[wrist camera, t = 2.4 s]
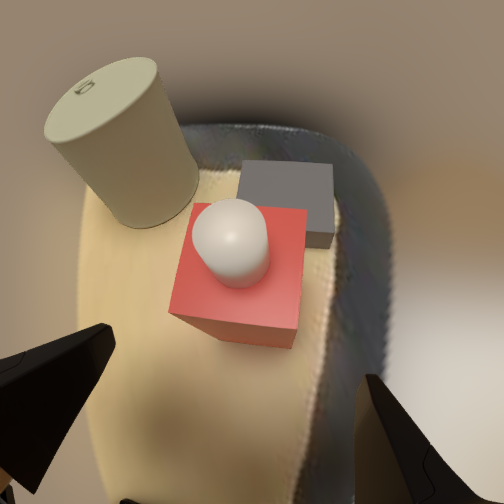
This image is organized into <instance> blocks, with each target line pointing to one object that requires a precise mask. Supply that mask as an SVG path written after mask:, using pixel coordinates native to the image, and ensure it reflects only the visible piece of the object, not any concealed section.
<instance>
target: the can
mask: <svg viewBox="0 0 504 504" xmlns="http://www.w3.org/2000/svg"><path fill="white" fill-rule="evenodd" d="M44 134H45V137H46V139H47V140H48V141H49V142H50V143H51V144H52V145H53V146H54V147H55V148H56V149H57V150H58V151H59V152H60V154H61V155H62V156H63V157H64V158H65V159H66V160H67V162H68V163H69V164H70V165H71V166H72V167H73V169H74V170H75V171H76V172H77V173H78V174H79V175H80V176H81V178H82V179H83V180H84V181H85V182H86V183H87V184H88V185H89V187H90V188H91V189H92V190H93V191H94V192H95V193H96V194H97V196H98V197H99V198H100V199H101V200H102V201H103V202H104V203H105V204H106V205H107V207H108V208H109V209H110V210H111V211H112V213H113V215H114V216H115V218H116V219H117V220H118V221H119V222H120V223H122V224H124V225H126V226H128V227H132V228H149V227H154V226H157V225H160V224H162V223H164V222H166V221H168V220H170V219H171V218H173V217H174V216H175V215H177V214H178V213H179V212H180V211H181V210H183V209H184V207H185V206H186V205H187V204H188V203H189V201H190V200H191V199H192V197H193V195H194V193H195V191H196V189H197V185H198V181H199V170H198V166H197V163H196V162H195V160H194V158H193V157H192V156H191V153H190V151H189V149H188V147H187V144H186V142H185V140H184V137H183V135H182V132H181V130H180V127H179V125H178V122H177V120H176V117H175V115H174V112H173V110H172V108H171V105H170V102H169V99H168V97H167V94H166V92H165V89H164V86H163V83H162V81H161V78H160V75H159V72H158V67H157V64H156V63H155V62H154V61H153V60H151V59H149V58H144V57H135V58H128V59H124V60H120V61H117V62H114V63H112V64H109V65H107V66H105V67H103V68H101V69H99V70H97V71H95V72H93V73H92V74H90V75H88V76H87V77H86V78H84V79H82V80H81V81H80V82H78V83H77V84H76V85H75V86H73V87H72V88H71V89H70V90H69V91H68V92H67V93H66V94H65V95H64V96H63V97H62V98H61V99H60V100H59V101H58V103H57V104H56V105H55V107H54V108H53V109H52V111H51V113H50V114H49V116H48V118H47V120H46V123H45V127H44Z"/></svg>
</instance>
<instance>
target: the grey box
mask: <svg viewBox="0 0 504 504" xmlns="http://www.w3.org/2000/svg"><path fill="white" fill-rule="evenodd" d="M236 199H241V200H244V201H247V202H249V203H251V204H253V205H254V206H264V207H279V208H292V209H305V210H307V220H306V235H305V248H320V249H330V246H331V243H332V239H333V236H334V233H335V224H334V188H333V168H332V164H322V163H307V162H288V161H258V160H243V163H242V169H241V175H240V180H239V186H238V192H237V197H236Z"/></svg>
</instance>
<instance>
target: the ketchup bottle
mask: <svg viewBox="0 0 504 504" xmlns="http://www.w3.org/2000/svg"><path fill="white" fill-rule="evenodd" d="M306 220H307V210H305V209H292V208H279V207H264V206H254V205H253V204H251V203H249V202H247V201H244V200H241V199H224V200H220V201H217V202H215V203H213V204H209V203H194V205H193V209H192V213H191V216H190V220H189V224H188V228H187V232H186V236H185V240H184V244H183V248H182V252H181V256H180V260H179V265H178V269H177V273H176V278H175V282H174V287H173V291H172V296H171V301H170V306H169V311H168V312H169V313H170V314H172V315H174V316H176V317H177V318H179V319H181V320H183V321H185V322H186V323H188V324H190V325H192V326H194V327H196V328H198V329H199V330H201V331H203V332H205V333H207V334H209V335H211V336H213V337H215V338H217V339H219V340H224V341H231V342H238V343H245V344H253V345H261V346H270V347H279V348H289V349H291V348H292V345H293V341H294V338H295V335H296V332H297V327H298V317H299V308H300V297H301V287H302V275H303V263H304V250H305V235H306Z"/></svg>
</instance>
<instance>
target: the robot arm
mask: <svg viewBox="0 0 504 504" xmlns="http://www.w3.org/2000/svg"><path fill="white" fill-rule="evenodd" d="M115 345H116V342H115V338H114V334H113V330H112V327H111V326H110V325H107V324H104V323H100V324H97V325H94V326H92V327H89V328H86V329H84V330H81V331H78V332H76V333H73V334H70V335H68V336H65V337H62V338H60V339H57V340H54V341H52V342H49V343H46V344H43V345H41V346H38V347H35V348H33V349H30V350H28V351H24V352H22V353H19V354H16V355H13V356H10V357H7V358H4V359H0V504H15V500H14V494H13V489H12V486H11V485H10V484H9V483H10V482H11V480H12V479H14V480H16V481H17V482H18V483H19V484H20V485H22V486H23V487H24V488H25V489H27V490H28V491H29V492H31V493H32V494H33V495H34V494H35V493H36V491H37V489H38V487H39V485H40V483H41V481H42V479H43V477H44V475H45V473H46V471H47V469H48V467H49V466H50V464H51V462H52V460H53V458H54V456H55V454H56V452H57V450H58V449H59V447H60V445H61V443H62V441H63V440H64V438H65V436H66V434H67V433H68V431H69V429H70V427H71V426H72V424H73V422H74V420H75V419H76V417H77V415H78V414H79V412H80V410H81V408H82V407H83V405H84V404H85V402H86V400H87V399H88V397H89V395H90V394H91V392H92V391H93V389H94V387H95V386H96V384H97V382H98V381H99V379H100V377H101V375H102V373H103V371H104V369H105V367H106V365H107V363H108V361H109V359H110V357H111V355H112V353H113V351H114V349H115ZM354 463H355V501H354V504H504V503H498V502H492V501H488V500H485V499H483V498H481V497H479V496H478V495H476V494H475V493H474V492H473V491H472V490H471V489H470V488H469V487H468V486H467V485H466V484H465V483H464V482H463V481H462V479H461V478H460V477H459V476H458V475H457V474H456V473H455V472H454V471H453V470H452V469H451V468H450V467H449V466H448V465H447V463H446V462H445V461H444V460H443V459H442V457H441V456H440V455H439V454H438V452H437V451H436V450H435V448H434V447H433V446H432V445H430V442H429V441H428V439H427V438H426V437H425V435H424V434H423V433H422V431H421V430H420V429H419V428H418V426H417V425H416V424H415V423H414V421H413V420H412V418H411V417H410V416H409V415H408V413H407V412H406V411H405V409H404V408H403V407H402V406H401V404H400V403H399V402H398V400H397V399H396V398H395V397H394V395H393V394H392V393H391V391H390V390H389V389H388V388H387V386H386V385H385V384H384V383H383V381H382V380H381V379H380V378H379V376H378V375H376V374H365V375H364V377H363V379H362V381H361V383H360V386H359V388H358V390H357V394H356V410H355V424H354ZM125 503H126V504H138V503H135V502H133V501H130V500H128V499H123V500H121V501H120V504H125Z"/></svg>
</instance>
